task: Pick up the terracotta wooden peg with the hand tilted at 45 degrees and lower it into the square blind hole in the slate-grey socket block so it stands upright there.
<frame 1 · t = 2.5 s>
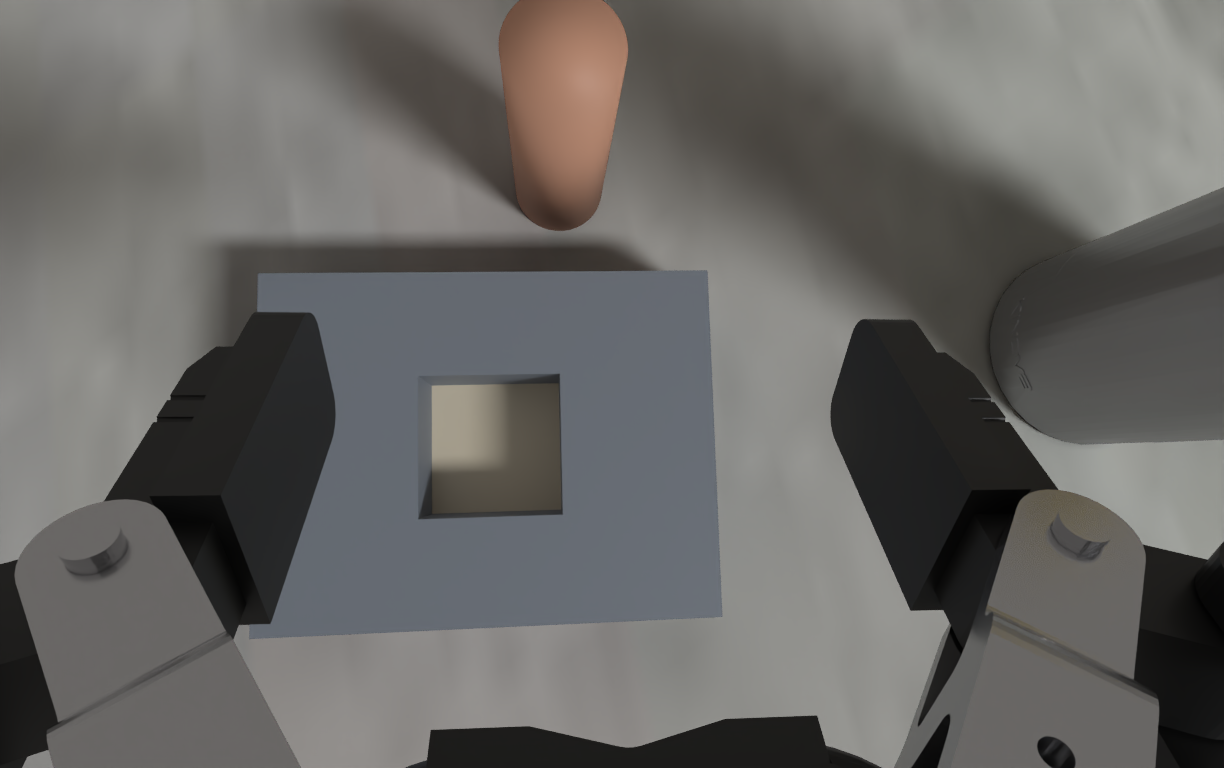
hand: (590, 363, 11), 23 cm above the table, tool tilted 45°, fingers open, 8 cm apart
socket block: (497, 447, 33), on the table
peg: (558, 189, 35), on the table
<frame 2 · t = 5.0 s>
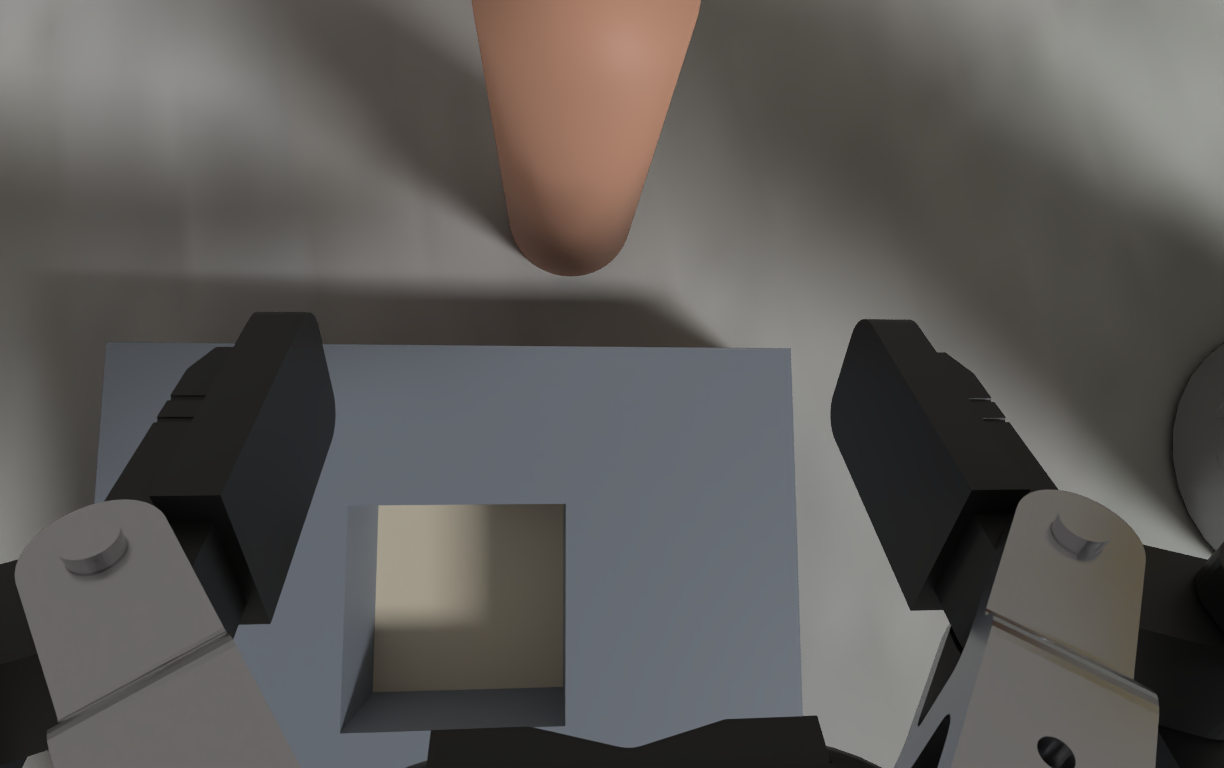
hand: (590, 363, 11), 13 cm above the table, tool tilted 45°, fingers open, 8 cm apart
socket block: (472, 590, 23), on the table
peg: (570, 217, 25), on the table
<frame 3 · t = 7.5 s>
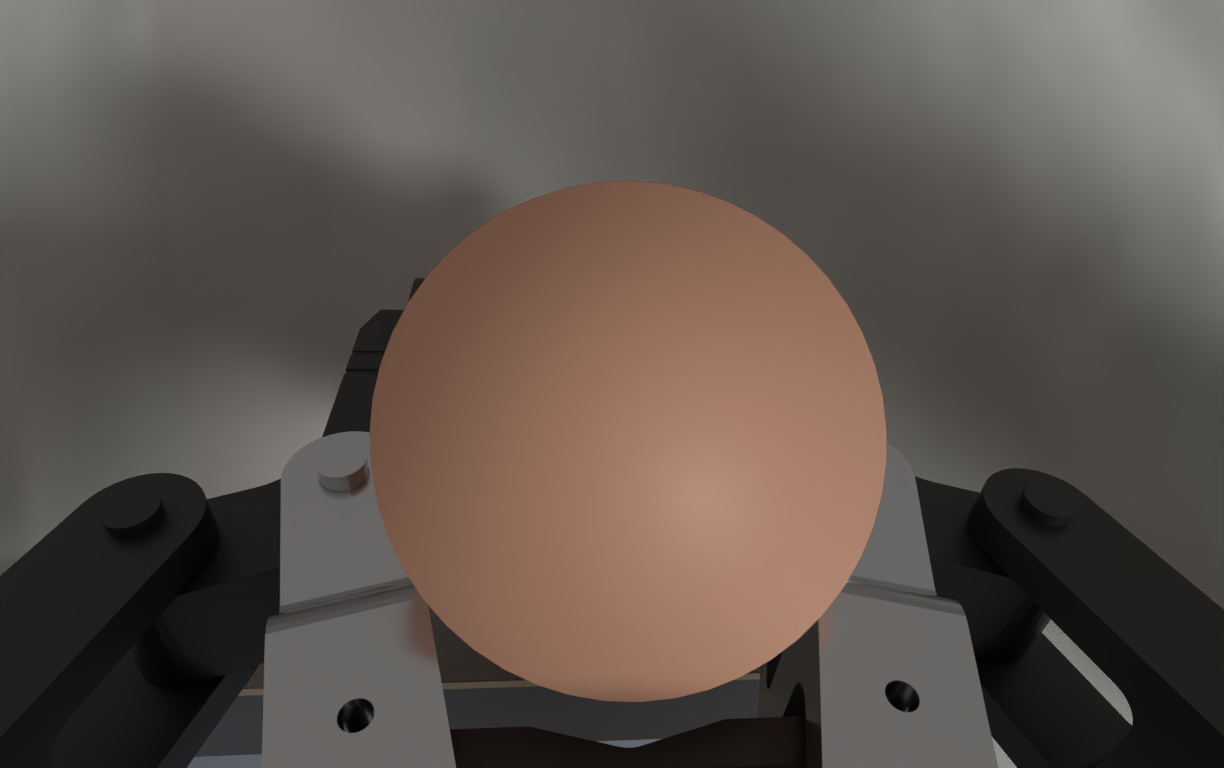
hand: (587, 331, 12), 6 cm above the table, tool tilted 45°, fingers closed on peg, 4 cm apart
peg: (575, 458, 18), on the table, touching gripper
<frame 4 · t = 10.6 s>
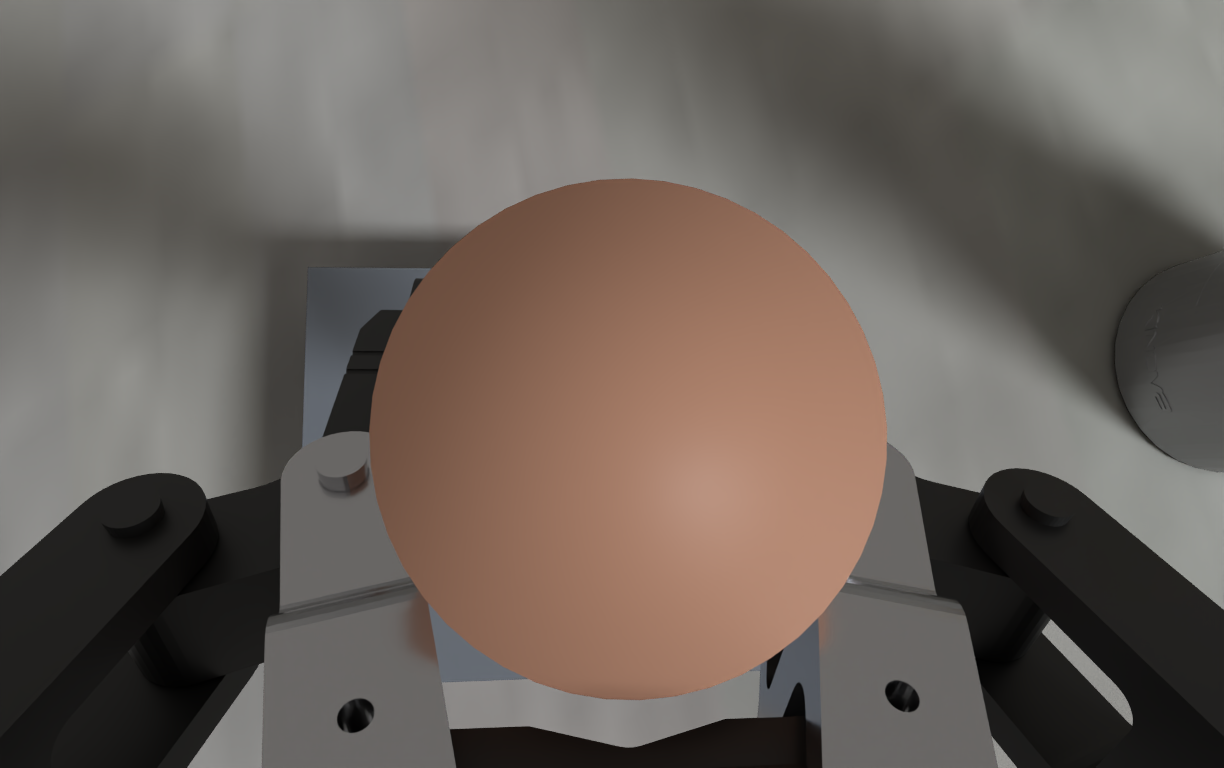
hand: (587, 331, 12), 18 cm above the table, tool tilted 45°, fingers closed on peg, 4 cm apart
socket block: (567, 467, 30), on the table
peg: (576, 457, 18), point 12 cm above the table, touching gripper
when the fingers open (7 cm above the table, at t = 13.9 s): peg drops 1 cm, resting on socket block.
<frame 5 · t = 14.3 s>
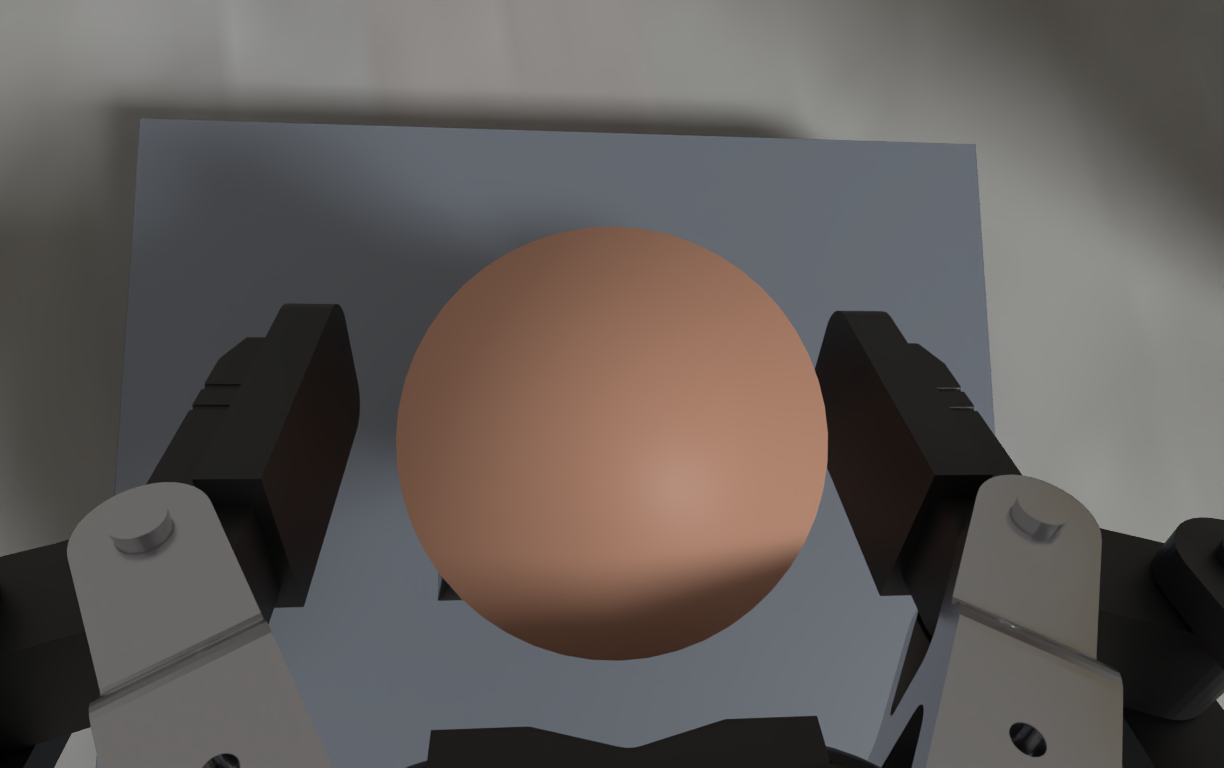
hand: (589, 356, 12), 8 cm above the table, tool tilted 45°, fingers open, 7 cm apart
socket block: (572, 460, 19), on the table
peg: (575, 461, 19), point 1 cm above the table, touching socket block
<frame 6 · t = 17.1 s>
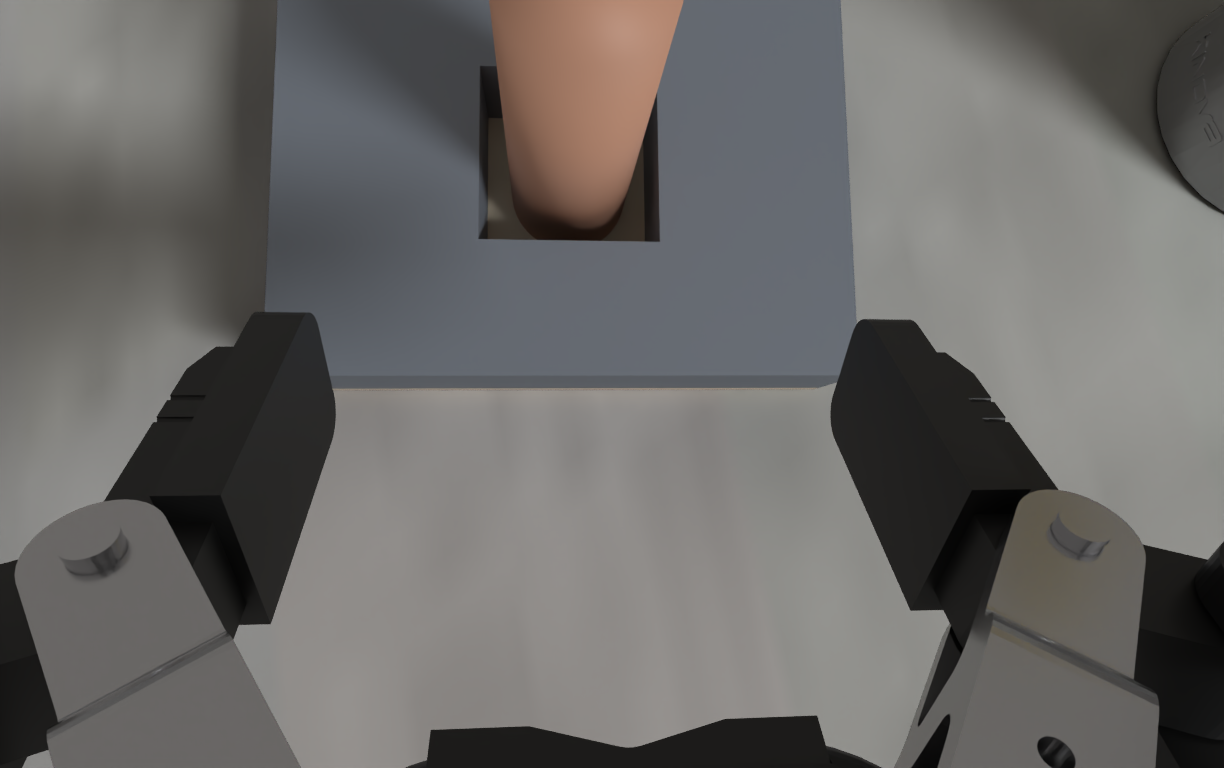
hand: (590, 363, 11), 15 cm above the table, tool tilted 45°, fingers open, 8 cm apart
socket block: (566, 199, 27), on the table
peg: (568, 195, 27), point 1 cm above the table, touching socket block
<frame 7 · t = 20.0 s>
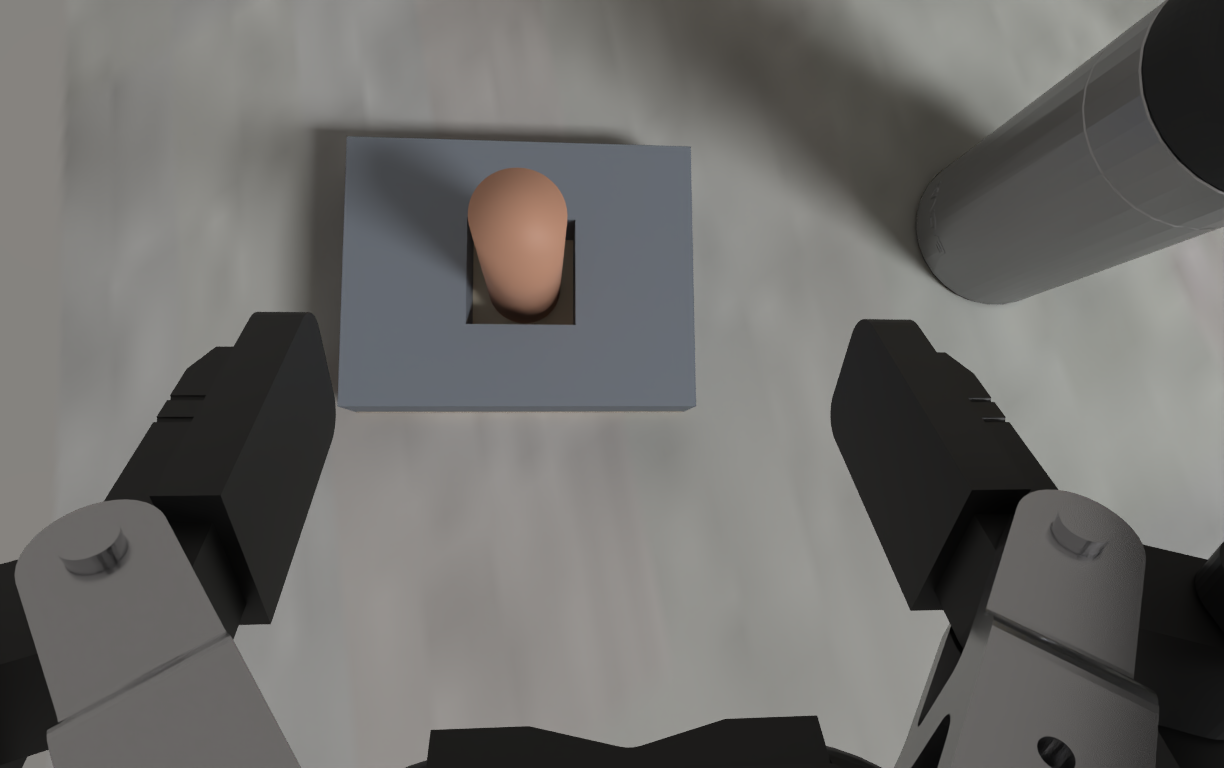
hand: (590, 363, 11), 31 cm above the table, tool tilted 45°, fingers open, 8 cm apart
socket block: (523, 289, 43), on the table
peg: (524, 288, 42), point 1 cm above the table, touching socket block
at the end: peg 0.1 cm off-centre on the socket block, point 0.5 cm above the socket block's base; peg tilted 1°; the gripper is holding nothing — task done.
